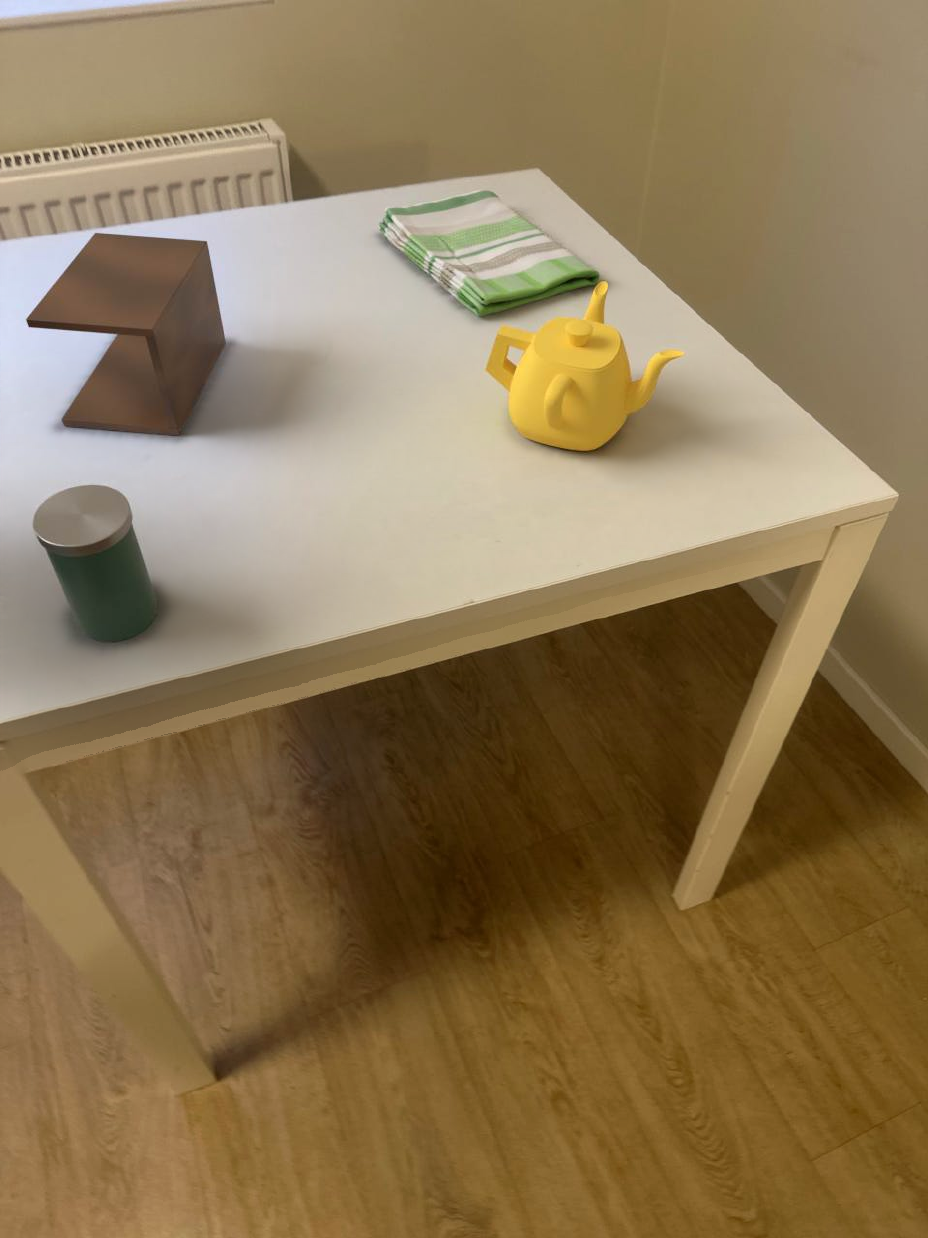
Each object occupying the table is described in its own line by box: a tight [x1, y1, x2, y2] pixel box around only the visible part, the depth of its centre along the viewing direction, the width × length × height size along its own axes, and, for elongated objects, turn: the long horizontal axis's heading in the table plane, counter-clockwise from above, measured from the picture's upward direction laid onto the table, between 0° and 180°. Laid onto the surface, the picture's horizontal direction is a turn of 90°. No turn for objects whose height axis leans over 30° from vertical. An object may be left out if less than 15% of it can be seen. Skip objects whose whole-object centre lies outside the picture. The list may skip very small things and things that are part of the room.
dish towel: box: [377, 189, 600, 317], centre depth 109 cm, size 17×23×4 cm
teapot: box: [484, 280, 685, 452], centre depth 86 cm, size 14×13×10 cm
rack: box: [25, 232, 227, 437], centre depth 88 cm, size 16×11×11 cm
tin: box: [32, 484, 159, 643], centre depth 68 cm, size 6×6×10 cm
